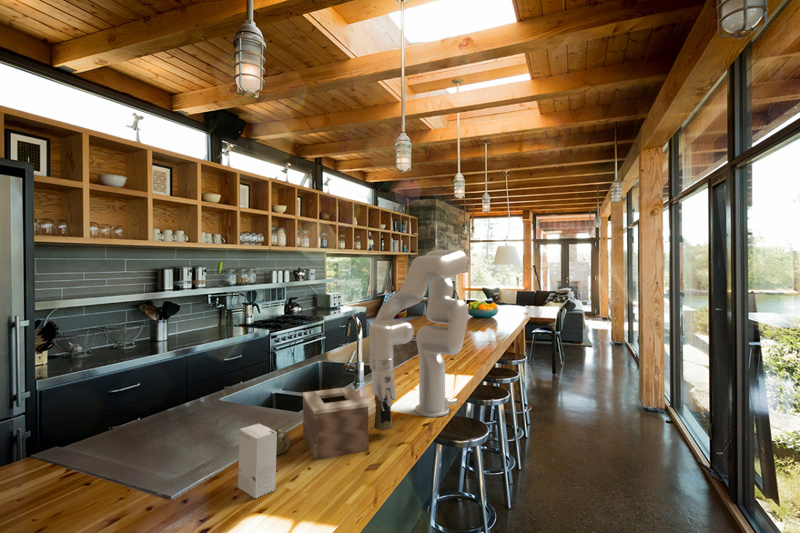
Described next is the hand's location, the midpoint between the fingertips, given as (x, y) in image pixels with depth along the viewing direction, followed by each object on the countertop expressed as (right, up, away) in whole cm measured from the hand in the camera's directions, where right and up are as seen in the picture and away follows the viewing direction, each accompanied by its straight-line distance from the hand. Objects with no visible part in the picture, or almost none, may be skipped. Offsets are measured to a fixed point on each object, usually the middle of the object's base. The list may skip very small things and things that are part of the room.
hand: (383, 419), depth 140 cm
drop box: (-15, -5, -5) cm, 17 cm away
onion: (-30, -6, -12) cm, 33 cm away
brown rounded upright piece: (0, -2, 0) cm, 2 cm away
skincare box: (-30, -6, -32) cm, 44 cm away
